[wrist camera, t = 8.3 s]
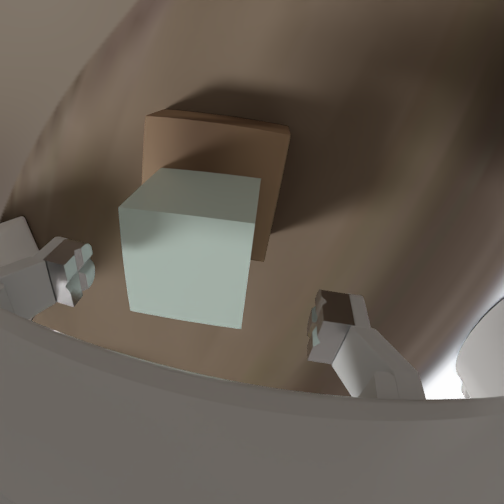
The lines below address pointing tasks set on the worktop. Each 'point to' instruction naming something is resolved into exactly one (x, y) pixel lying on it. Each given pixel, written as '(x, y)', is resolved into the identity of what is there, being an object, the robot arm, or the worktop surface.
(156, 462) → the robot arm
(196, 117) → the block
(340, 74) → the worktop surface
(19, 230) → the medicine bottle
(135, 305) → the cube
